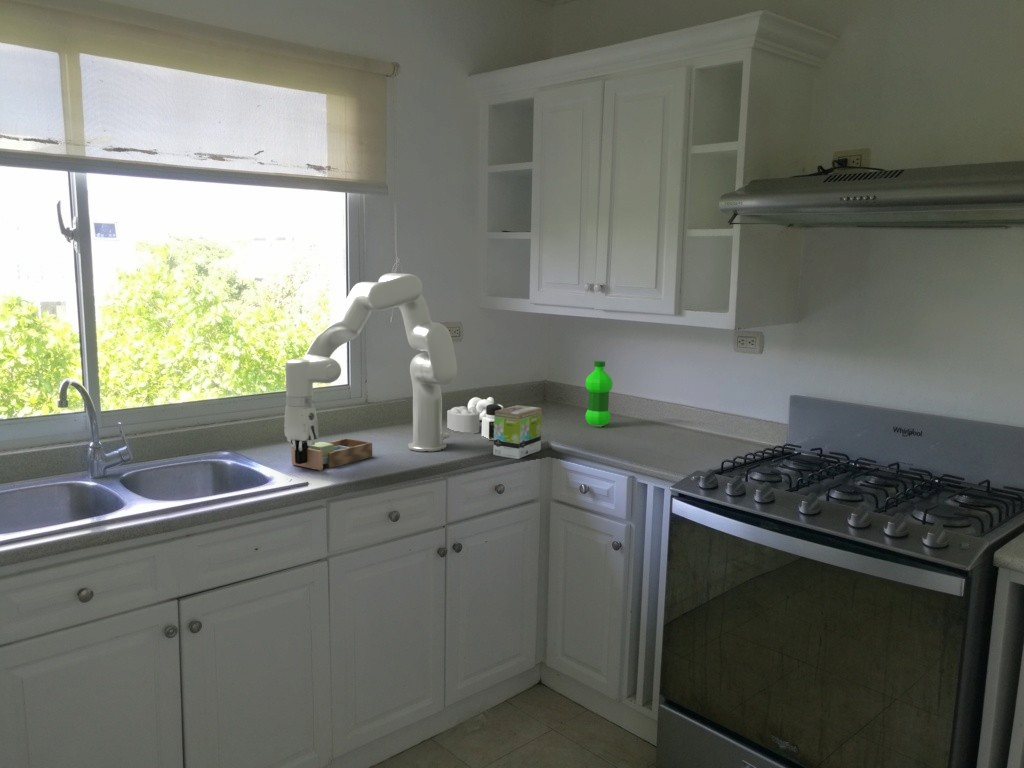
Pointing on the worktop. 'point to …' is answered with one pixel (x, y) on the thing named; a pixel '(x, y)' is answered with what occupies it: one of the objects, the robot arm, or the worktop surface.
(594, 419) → the plastic bottle
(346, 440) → the organiser box
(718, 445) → the worktop surface
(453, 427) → the lumpy-topped squat cylinder
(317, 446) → the olive block
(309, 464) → the wooden drawer
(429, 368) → the robot arm
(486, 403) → the white knobbly figure
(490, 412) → the medicine bottle
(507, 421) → the tea box
